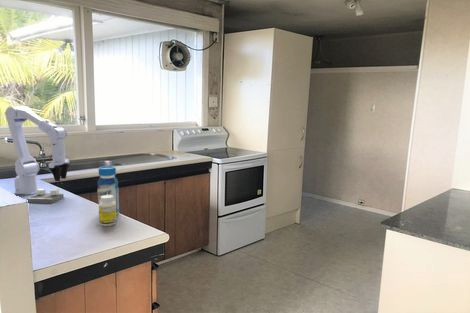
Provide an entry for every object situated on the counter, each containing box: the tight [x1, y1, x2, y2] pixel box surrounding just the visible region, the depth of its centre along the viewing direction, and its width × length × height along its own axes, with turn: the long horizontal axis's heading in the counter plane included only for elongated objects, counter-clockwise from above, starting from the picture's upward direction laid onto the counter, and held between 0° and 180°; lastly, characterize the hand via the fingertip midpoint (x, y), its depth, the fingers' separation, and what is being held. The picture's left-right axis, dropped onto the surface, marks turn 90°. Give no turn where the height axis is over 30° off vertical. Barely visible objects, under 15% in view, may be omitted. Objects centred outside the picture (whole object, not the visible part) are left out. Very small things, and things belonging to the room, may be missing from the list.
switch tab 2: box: [49, 188, 60, 195], centre depth 172 cm, size 3×2×2 cm
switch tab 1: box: [35, 188, 47, 195], centre depth 172 cm, size 3×2×2 cm
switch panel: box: [26, 192, 65, 204], centre depth 170 cm, size 12×10×2 cm
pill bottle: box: [98, 195, 118, 227], centre depth 138 cm, size 6×6×11 cm
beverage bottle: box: [96, 165, 120, 215], centre depth 150 cm, size 8×8×20 cm
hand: (60, 179), depth 176 cm, fingers open, 5 cm apart
